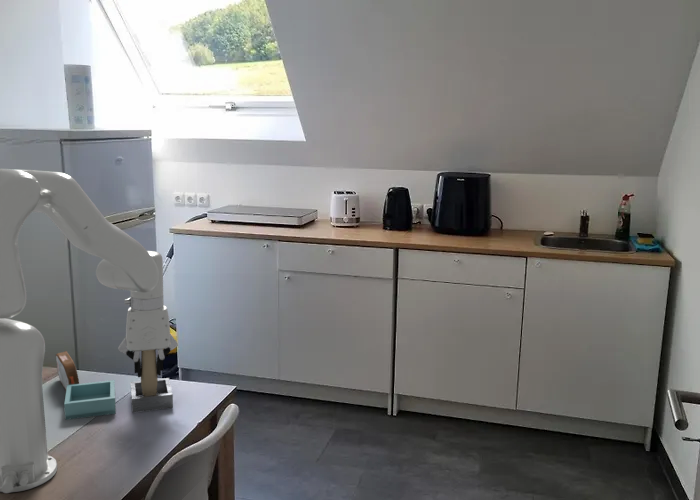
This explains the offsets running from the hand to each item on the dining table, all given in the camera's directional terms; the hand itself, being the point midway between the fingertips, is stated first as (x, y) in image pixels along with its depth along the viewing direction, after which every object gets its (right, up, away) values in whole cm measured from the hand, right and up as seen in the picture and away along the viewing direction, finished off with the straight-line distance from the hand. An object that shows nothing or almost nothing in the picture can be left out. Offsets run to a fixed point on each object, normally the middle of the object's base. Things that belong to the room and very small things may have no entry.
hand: (149, 373), depth 159 cm
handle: (0, -6, +1) cm, 6 cm away
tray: (-14, -8, -2) cm, 16 cm away
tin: (-24, -5, +9) cm, 26 cm away
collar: (0, -7, +2) cm, 8 cm away
